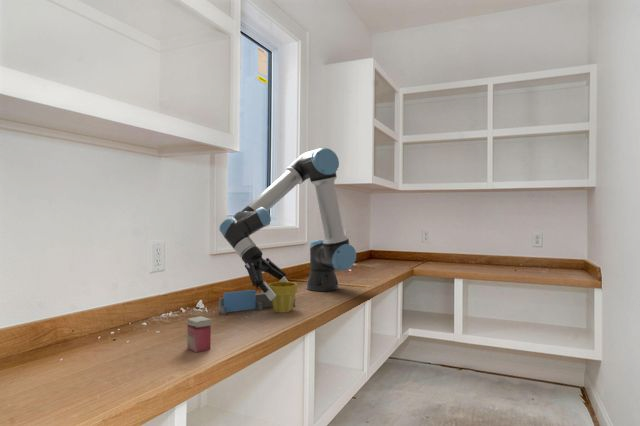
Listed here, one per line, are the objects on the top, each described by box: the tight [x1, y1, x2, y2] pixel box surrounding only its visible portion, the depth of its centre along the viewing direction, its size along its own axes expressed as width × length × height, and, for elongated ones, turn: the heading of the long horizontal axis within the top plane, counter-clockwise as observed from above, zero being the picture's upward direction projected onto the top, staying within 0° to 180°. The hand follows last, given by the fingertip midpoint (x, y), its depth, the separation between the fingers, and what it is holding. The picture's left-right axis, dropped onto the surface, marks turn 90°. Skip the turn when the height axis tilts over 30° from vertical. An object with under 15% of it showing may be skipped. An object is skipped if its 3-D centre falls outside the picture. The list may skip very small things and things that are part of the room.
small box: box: [186, 315, 212, 353], centre depth 108 cm, size 5×4×8 cm
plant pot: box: [268, 281, 298, 313], centre depth 151 cm, size 10×10×10 cm
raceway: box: [218, 289, 296, 316], centre depth 154 cm, size 28×5×7 cm, turn 121°
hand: (283, 295), depth 151 cm, fingers open, 13 cm apart
